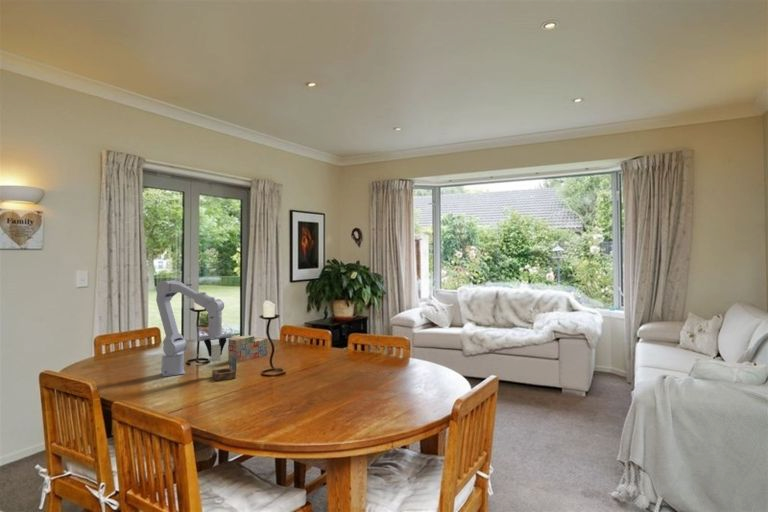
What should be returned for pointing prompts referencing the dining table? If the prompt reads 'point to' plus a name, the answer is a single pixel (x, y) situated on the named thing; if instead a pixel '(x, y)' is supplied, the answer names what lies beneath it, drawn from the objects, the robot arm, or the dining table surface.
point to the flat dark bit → (232, 362)
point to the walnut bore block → (223, 374)
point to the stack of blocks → (247, 348)
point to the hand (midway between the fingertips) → (215, 355)
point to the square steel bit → (215, 353)
